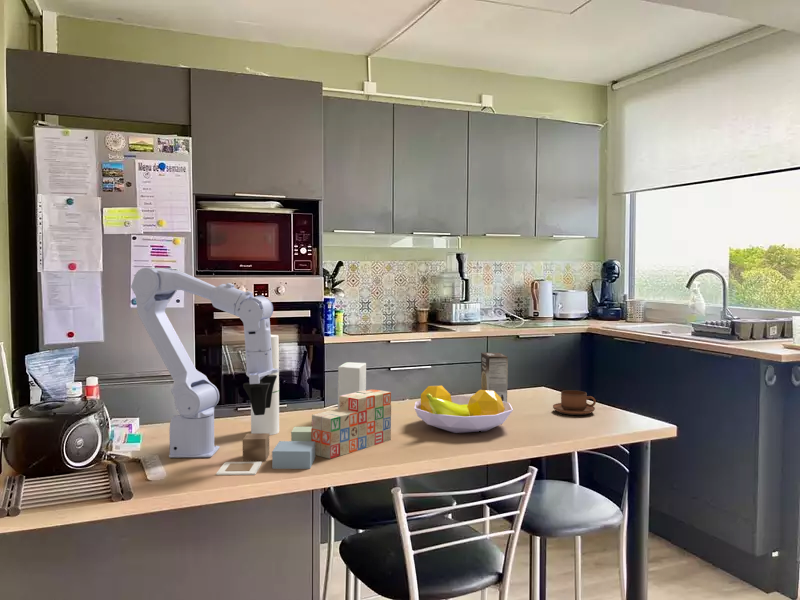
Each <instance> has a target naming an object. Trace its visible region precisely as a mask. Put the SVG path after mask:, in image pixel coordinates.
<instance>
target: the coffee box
mask: <svg viewBox="0 0 800 600" xmlns="http://www.w3.org/2000/svg"><path fill="white" fill-rule="evenodd" d="M480 355H481V356H480V390H491V391H495V392H496V393H497V394H498V395H499V396H500V397H501V399H502V401H503V402H507V403H508V381H509V379H508V376H509V373H508V372H509V371H508V370H509V369H508V368H509V364H508V363H509V358H508V356H507V355H505V354H503V353H502V352H485V351H484V352H480Z"/></svg>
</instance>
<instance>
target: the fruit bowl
mask: <svg viewBox="0 0 800 600" xmlns="http://www.w3.org/2000/svg"><path fill="white" fill-rule="evenodd" d="M414 411H415V412H416V415H417V417H418V418H419V419H420V420H422V421H423V422H425V424H426V425H429V426H433V427H436V428H438V429H441V430H443V431H447V432H451V433H453V434H458V433H459V434H463V433H476V432H478V433H479V431H481V432H488V431H489V430H491V429H493V428H495V427H498V426H501V425H503V424H504V423H505V422H506V420H507V419H508V417H510V415H511V413H512V412H513V411H514V409H513V407H512V405H511V403H510V402H508V401H507V402H503V401H502V399H501V397H500V396H499V395H498V394H497V393H496V392H495V391H491V390H481V389H479V390H477V391H476V392H475V393H474V394H473V395H470V396H469V395H453V396H452V394H451V393H450V392H449V391H448V390H447V389H446V388H445V387H444V386H443V385H442V384H441V385H428V386H426V388H425V389H424V390H423V391H422V392H421V393H420V400H418V401H417V400H416V401H415V402H414Z"/></svg>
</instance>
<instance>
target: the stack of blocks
mask: <svg viewBox="0 0 800 600" xmlns="http://www.w3.org/2000/svg"><path fill="white" fill-rule="evenodd" d="M391 425H392V391H387V390H381V389H380V390H379V389H374V388H373V389H366V391H365V390H363V391H358V392H356V393H351V394H346V395H342V396H339V409H338V408H335V409H331V410H327V411H323V412H318V413H315V414H311V427H312V428H311V441H315V456H318V457H322V458H326V459H329V460H330V459H334V458H338V457H341V456H344V455H347V454H350V453H354V452H358V451H361V450H363V449H366V448H370V447H372V446H376V445H379V444H382V443H386V442H389V441H392V426H391Z"/></svg>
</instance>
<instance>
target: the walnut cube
mask: <svg viewBox="0 0 800 600" xmlns="http://www.w3.org/2000/svg"><path fill="white" fill-rule="evenodd" d="M269 456H270V435H269V433H255V434H251V433H246V434H245V436H243V438H242V462H267V460H268V458H269Z"/></svg>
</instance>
